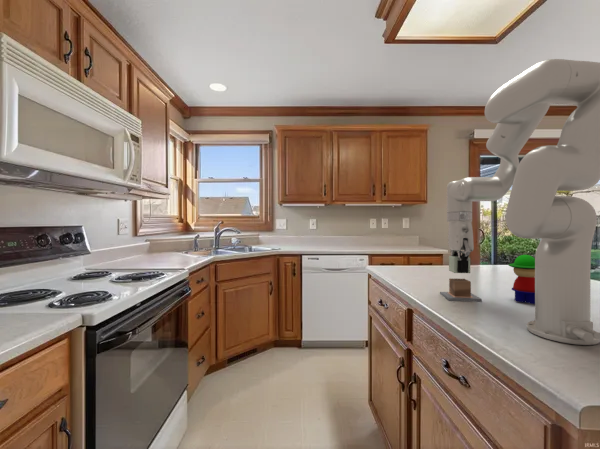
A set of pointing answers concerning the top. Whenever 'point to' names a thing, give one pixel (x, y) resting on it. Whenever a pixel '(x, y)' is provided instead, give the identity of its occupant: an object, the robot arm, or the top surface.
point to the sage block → (455, 264)
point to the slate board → (458, 298)
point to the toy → (524, 279)
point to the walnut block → (460, 287)
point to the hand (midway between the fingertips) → (459, 270)
